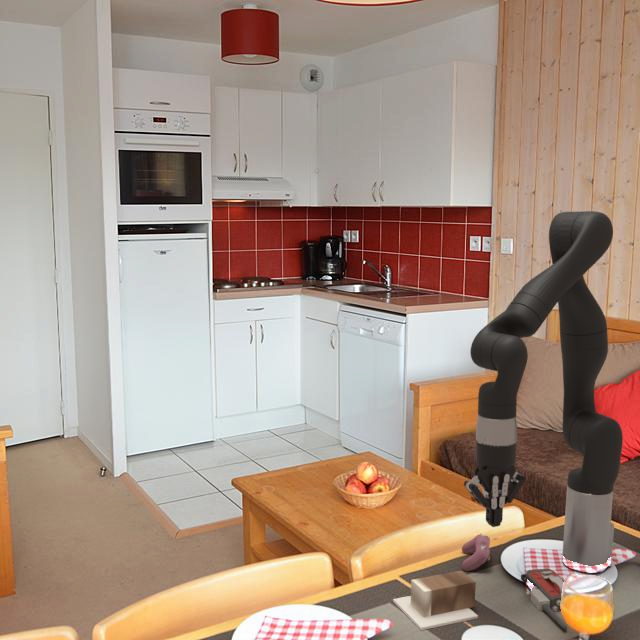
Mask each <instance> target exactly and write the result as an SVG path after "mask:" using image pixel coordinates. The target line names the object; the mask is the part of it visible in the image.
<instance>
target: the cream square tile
mask: <svg viewBox="0 0 640 640" xmlns="http://www.w3.org/2000/svg"><path fill="white" fill-rule="evenodd" d="M392 603H394V604H395V606H397V607H398V609H399V610H400V611H402V613H403V614H405V616H406V617H408V619H409V620H410V622H411V621H412V623H413V624H414V625H415V626H416V627H417V628H418V630H420V631H424V630H428V629H433V628H440V627H442V626H443V627H444V626H447V625H453V624H458V623H463V622H466V621H467V622H468V621H473V620H476V619H479V615H478V614H477V613H476V612H474V611H473V610H472V609H471V608H466V609H462V610H457V611H452V612H447V613H442V614H437V615H433V616H428V617H423V616H422V615H421V614H420V613H419V612H418V611H417V610H416V609H415V608H414V607H413V606H412V605H411V595H409V596H408V595H407V596H402V597H398V598H393V599H392Z"/></svg>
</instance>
